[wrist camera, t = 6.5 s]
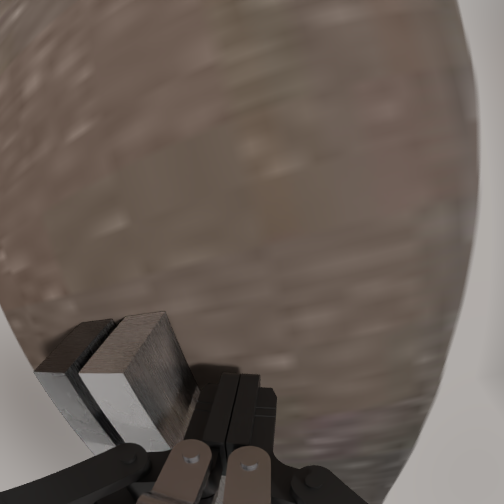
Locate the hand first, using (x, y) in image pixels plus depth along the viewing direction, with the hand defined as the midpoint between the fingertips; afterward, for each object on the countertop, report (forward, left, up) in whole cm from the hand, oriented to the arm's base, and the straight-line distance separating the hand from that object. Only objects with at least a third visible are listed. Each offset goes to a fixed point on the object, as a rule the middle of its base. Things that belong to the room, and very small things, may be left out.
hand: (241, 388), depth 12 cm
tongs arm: (+2, -6, -1) cm, 6 cm away
